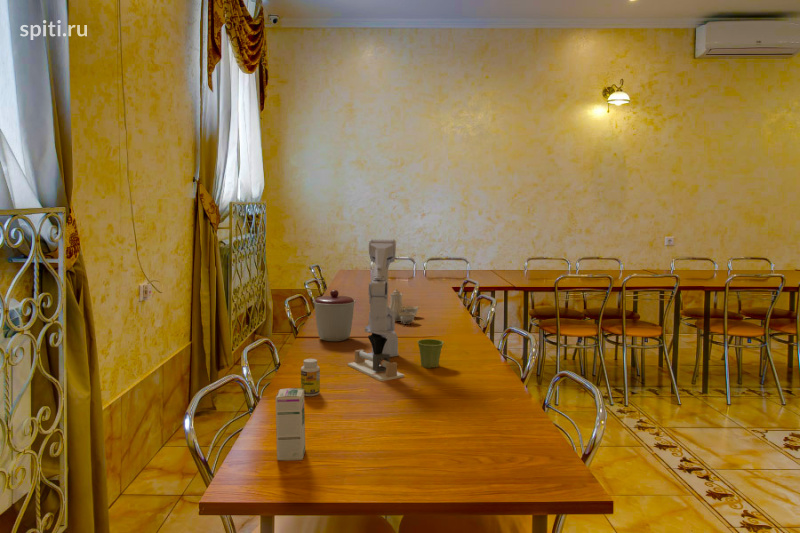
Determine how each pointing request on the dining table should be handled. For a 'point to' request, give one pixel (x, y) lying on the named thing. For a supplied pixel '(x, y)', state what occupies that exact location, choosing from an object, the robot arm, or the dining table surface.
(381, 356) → the grey square collar
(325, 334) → the canister
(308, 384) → the supplement bottle
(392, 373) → the pipe rig
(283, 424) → the syrup box
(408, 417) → the dining table surface
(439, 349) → the plant pot
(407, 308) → the chinaware
